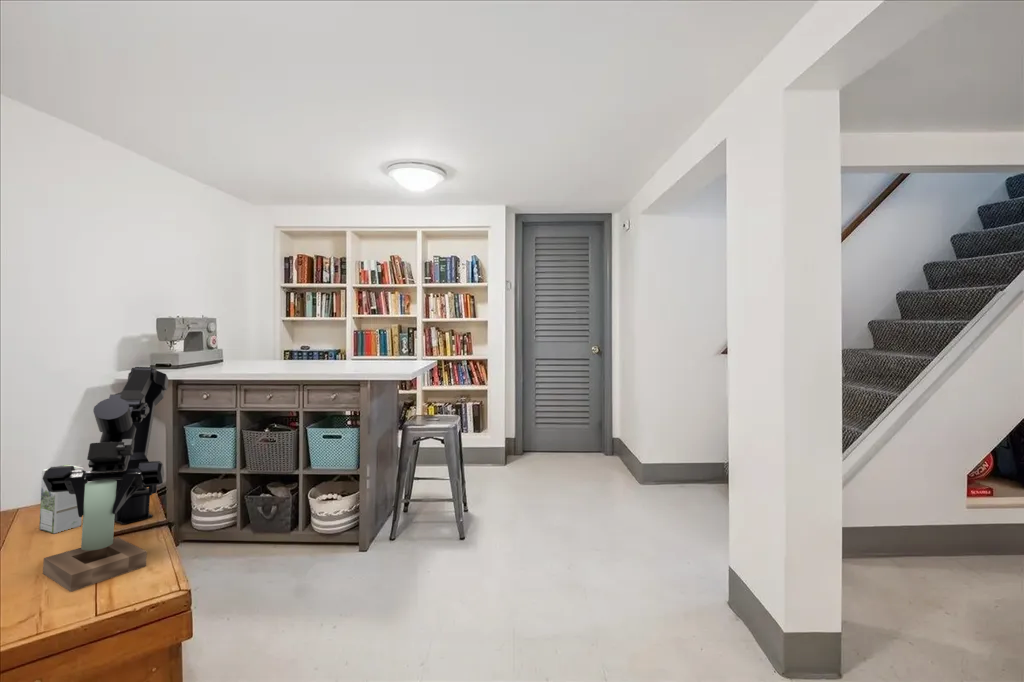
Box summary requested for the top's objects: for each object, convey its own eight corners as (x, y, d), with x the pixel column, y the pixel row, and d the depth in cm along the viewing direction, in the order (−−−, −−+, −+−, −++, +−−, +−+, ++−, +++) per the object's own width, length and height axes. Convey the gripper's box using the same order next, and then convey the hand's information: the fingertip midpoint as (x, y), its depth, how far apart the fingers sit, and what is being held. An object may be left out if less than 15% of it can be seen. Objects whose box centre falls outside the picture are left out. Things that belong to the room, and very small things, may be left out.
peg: (106, 538, 98) (109, 477, 98) (117, 543, 95) (121, 482, 95) (76, 546, 93) (80, 483, 93) (87, 552, 91) (91, 488, 91)
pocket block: (116, 553, 102) (117, 537, 102) (145, 568, 97) (146, 551, 97) (42, 575, 92) (43, 558, 92) (70, 594, 86) (71, 575, 86)
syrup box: (82, 526, 115) (86, 466, 115) (52, 534, 109) (56, 472, 109) (67, 521, 117) (71, 463, 117) (37, 530, 111) (41, 468, 111)
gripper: (49, 426, 93) (21, 500, 84) (165, 424, 102) (151, 490, 93) (61, 456, 100) (37, 528, 91) (168, 451, 109) (156, 516, 99)
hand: (97, 514), depth 93 cm, fingers closed on peg, 5 cm apart
